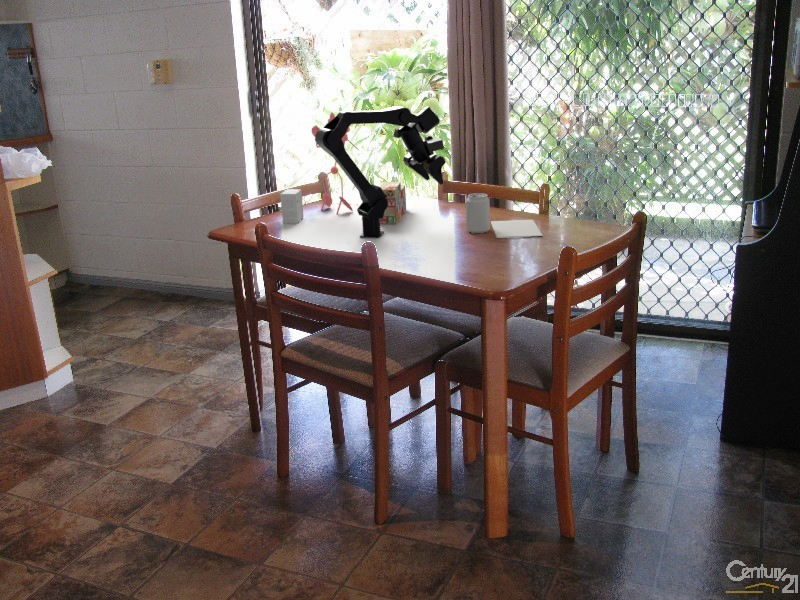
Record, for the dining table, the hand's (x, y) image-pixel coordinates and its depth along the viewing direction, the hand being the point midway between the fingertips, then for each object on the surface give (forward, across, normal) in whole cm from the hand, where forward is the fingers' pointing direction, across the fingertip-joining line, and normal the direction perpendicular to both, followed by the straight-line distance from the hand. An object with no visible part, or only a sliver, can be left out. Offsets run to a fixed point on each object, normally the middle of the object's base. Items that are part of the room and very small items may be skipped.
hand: (435, 181), depth 265 cm
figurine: (+5, +41, +21) cm, 46 cm away
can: (+16, -16, +1) cm, 22 cm away
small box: (-5, +35, +41) cm, 54 cm away
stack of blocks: (+10, +19, +13) cm, 25 cm away
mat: (+21, -21, -8) cm, 31 cm away
